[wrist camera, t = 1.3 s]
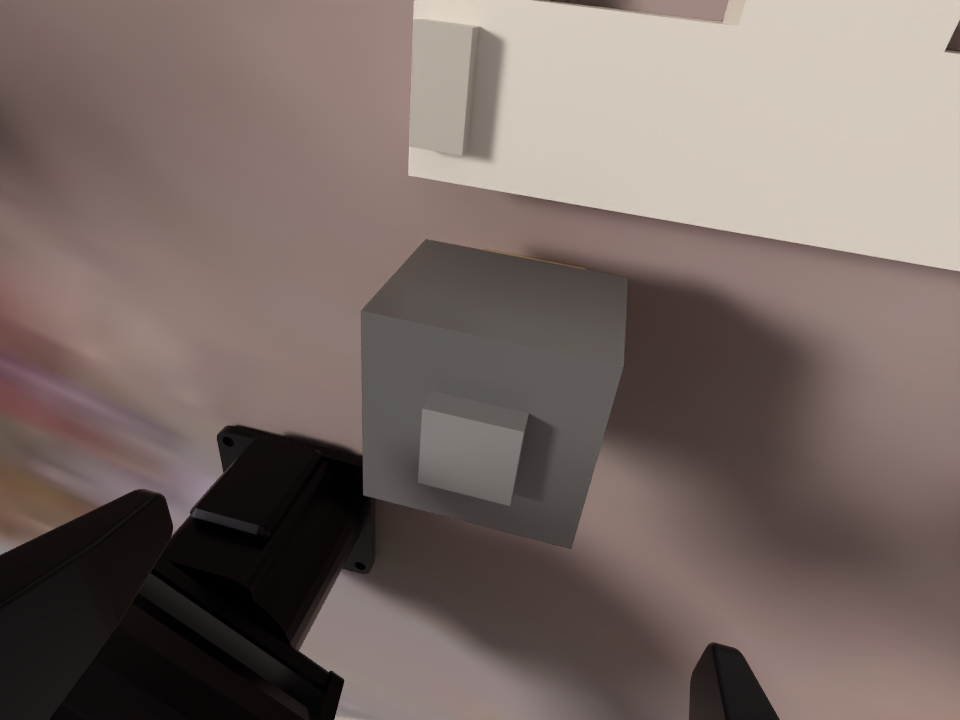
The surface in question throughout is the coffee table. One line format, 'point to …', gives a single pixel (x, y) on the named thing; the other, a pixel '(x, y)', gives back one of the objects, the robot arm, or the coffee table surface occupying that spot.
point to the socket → (705, 115)
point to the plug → (490, 387)
